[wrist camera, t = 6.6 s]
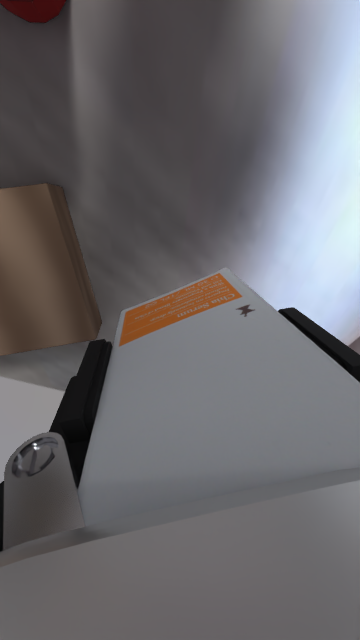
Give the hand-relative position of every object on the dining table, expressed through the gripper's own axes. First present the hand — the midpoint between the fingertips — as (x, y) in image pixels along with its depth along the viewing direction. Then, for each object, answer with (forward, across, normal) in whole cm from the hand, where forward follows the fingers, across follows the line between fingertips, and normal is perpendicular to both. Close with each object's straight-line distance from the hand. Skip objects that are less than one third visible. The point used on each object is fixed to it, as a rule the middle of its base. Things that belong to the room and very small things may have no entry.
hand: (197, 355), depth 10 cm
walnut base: (+18, +15, -1) cm, 24 cm away
